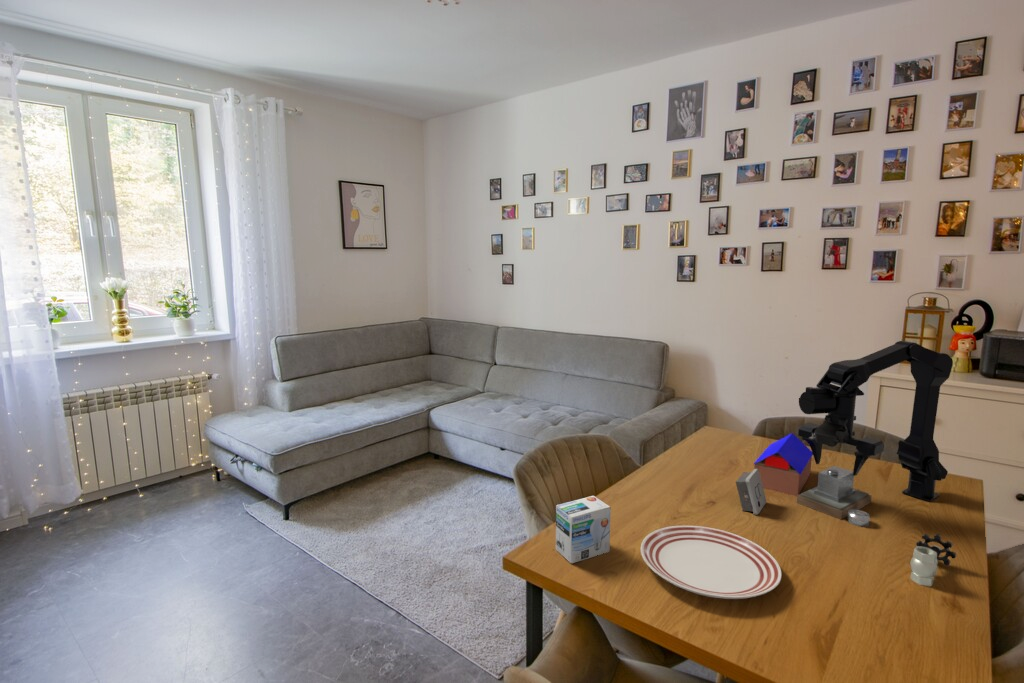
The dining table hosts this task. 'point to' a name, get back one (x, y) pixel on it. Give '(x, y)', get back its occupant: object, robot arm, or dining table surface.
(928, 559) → the valve
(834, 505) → the stand
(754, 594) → the dinner plate
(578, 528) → the white box
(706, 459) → the dining table surface
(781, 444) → the house
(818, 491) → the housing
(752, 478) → the electrical switch
